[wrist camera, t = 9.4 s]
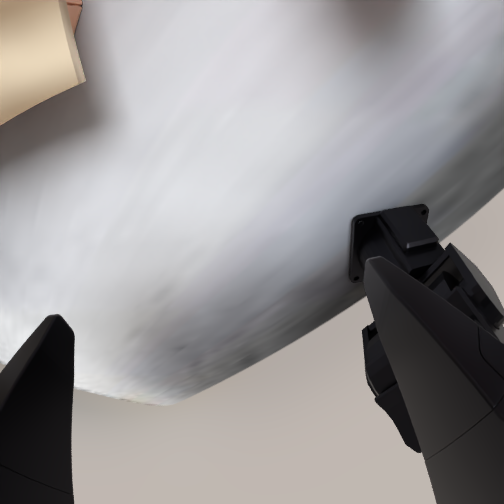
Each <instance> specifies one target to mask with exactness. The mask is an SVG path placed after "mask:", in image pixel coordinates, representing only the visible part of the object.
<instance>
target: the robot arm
mask: <svg viewBox="0 0 504 504" xmlns="http://www.w3.org/2000/svg"><path fill="white" fill-rule="evenodd" d="M428 213H429V209H428V207H427V206H426V205H425V204H420V205H414V206H405V207H399V208H394V209H388V210H383V211H378V212H373V213H367V214H361V215H357V216H356V217H354V219H353V222H352V243H351V260H350V274H349V277H350V280H351V282H353V283H357V282H361V281H364V288H365V292H366V295H367V298H368V301H369V304H370V308H371V311H372V314H373V318H374V322H373V323H371V324H370V325H368V326H366V327H365V328H364V329H363V330H362V337H363V347H364V358H365V372H366V379H367V383H368V385H369V387H370V388H371V391H372V392H373V394H374V395H375V396H376V398H375V402H376V403H377V404H378V405H379V406H380V407H381V408H382V409H383V410H385V411H386V413H387V414H388V415H389V417H390V418H391V419H392V420H393V422H394V424H395V425H396V427H397V429H398V430H399V432H400V435H401V436H402V438H403V440H404V442H405V444H406V445H407V446H408V447H410V448H411V449H413V450H414V451H416V452H417V453H421V452H422V454H423V457H424V460H425V464H426V467H427V471H428V474H429V477H430V481H431V484H432V488H433V491H434V495H435V499H436V503H437V504H504V327H503V324H504V308H503V306H502V304H501V302H500V300H499V298H498V296H497V294H496V292H495V291H494V289H493V287H492V285H491V284H490V283H489V282H488V280H487V279H486V278H485V276H484V275H483V274H482V273H481V271H480V270H479V269H478V268H477V267H476V265H474V264H473V263H472V262H471V261H470V260H469V259H468V258H467V257H466V256H465V255H464V254H463V253H462V252H460V251H459V250H458V249H457V248H456V247H455V246H454V245H452V244H451V243H449V244H448V246H447V247H446V248H445V250H444V249H443V248H442V246H441V245H440V244H439V242H438V240H439V239H438V237H437V236H436V235H435V233H434V232H433V231H432V230H431V229H430V227H429V226H428V225H427V219H428ZM359 221H362V222H361V223H359V224H358V222H359ZM74 343H75V336H74V332H73V330H72V329H71V327H70V326H69V325H68V324H67V322H66V321H65V320H64V319H63V317H62V316H61V315H59V314H54V315H49V316H47V317H46V318H45V319H44V321H43V322H42V323H41V324H40V325H39V326H38V327H37V329H36V330H35V331H34V332H33V333H32V334H31V336H30V337H29V338H28V339H27V340H26V342H25V343H24V344H23V345H22V346H21V348H20V349H19V350H18V351H17V353H16V354H15V355H14V356H13V357H12V359H11V360H10V361H9V362H8V364H7V365H6V366H5V368H4V369H3V370H2V372H1V373H0V504H74V495H73V484H72V458H71V457H72V455H71V431H72V430H71V429H72V404H73V388H74Z"/></svg>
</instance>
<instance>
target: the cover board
mask: <svg viewBox="0 0 504 504" xmlns="http://www.w3.org/2000/svg"><path fill="white" fill-rule="evenodd" d="M83 82H86V79H85V76H84V72H83V69H82V65H81V61H80V58H79V54H78V50H77V46H76V42H75V38H74V34H73V30H72V26H71V21H70V17H69V12H68V7H67V2H66V0H0V125H2V124H4V123H5V122H7V121H9V120H10V119H12V118H14V117H15V116H17V115H19V114H21V113H22V112H24V111H26V110H28V109H30V108H31V107H33V106H35V105H37V104H39V103H41V102H43V101H45V100H47V99H49V98H51V97H53V96H55V95H57V94H59V93H61V92H63V91H65V90H67V89H70V88H72V87H74V86H76V85H79V84H81V83H83Z"/></svg>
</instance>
